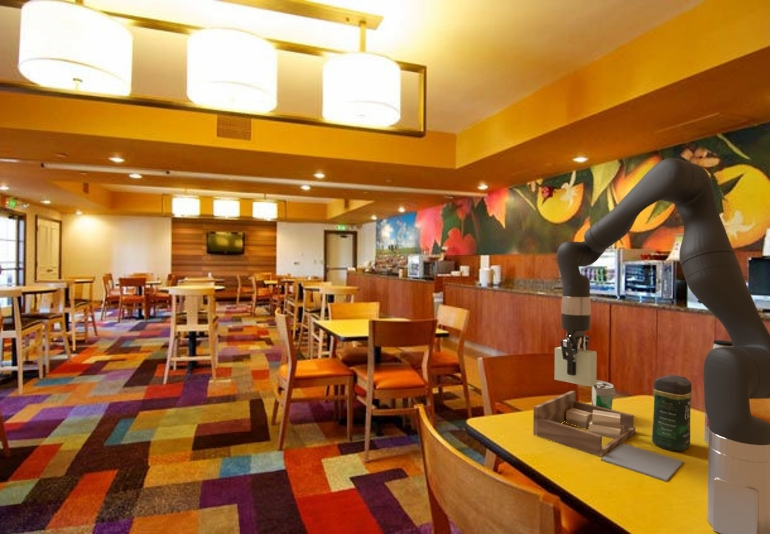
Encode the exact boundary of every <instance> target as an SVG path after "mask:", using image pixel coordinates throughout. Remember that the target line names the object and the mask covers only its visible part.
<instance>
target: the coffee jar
mask: <svg viewBox="0 0 770 534" xmlns="http://www.w3.org/2000/svg"><path fill="white" fill-rule="evenodd" d="M692 385H693V384H692V382H691V380H689V379H688V378H687V377H685V376H682V375H676V374H669V375H665V376H661V377H658V378H655V379H654V382H653V416H652V417H653V419H652V431H651V433H652V435H651V441H652V443H653V444H655V445H657V446H658V447H660V448H662V449H664V450H669V451H670V450H671V451H677V452H682V451H684V450H687V449H689V447H690V445H691V410H692V409H691V406H692V394H693V393H692Z"/></svg>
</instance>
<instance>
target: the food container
mask: <svg viewBox="0 0 770 534" xmlns="http://www.w3.org/2000/svg"><path fill="white" fill-rule="evenodd" d="M614 395H616V389H615V387H614V384H612V383H610V382H607V381H603V380H599V379H596V385H593V386H591V405H595V406H599V407H603V408H607V409H611V410H613V409H612V408H613V399H614Z"/></svg>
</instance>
